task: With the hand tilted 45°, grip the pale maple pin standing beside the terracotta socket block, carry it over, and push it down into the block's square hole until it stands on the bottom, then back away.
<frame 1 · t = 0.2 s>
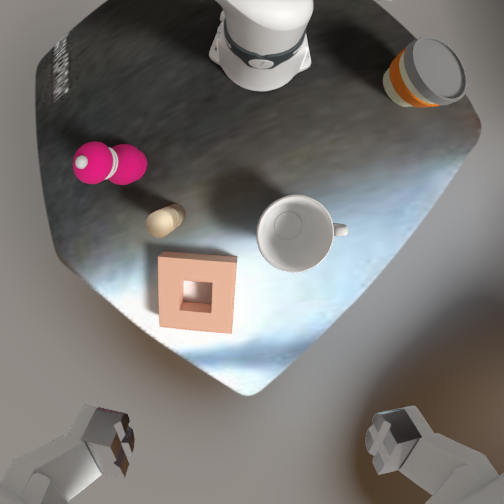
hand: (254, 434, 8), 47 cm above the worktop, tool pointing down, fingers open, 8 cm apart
teacup: (294, 223, 55), on the worktop
reusable coffee cup: (401, 86, 48), on the worktop
pepper mill: (132, 164, 51), on the worktop
maple pin: (174, 214, 54), on the worktop
socket block: (198, 288, 57), on the worktop
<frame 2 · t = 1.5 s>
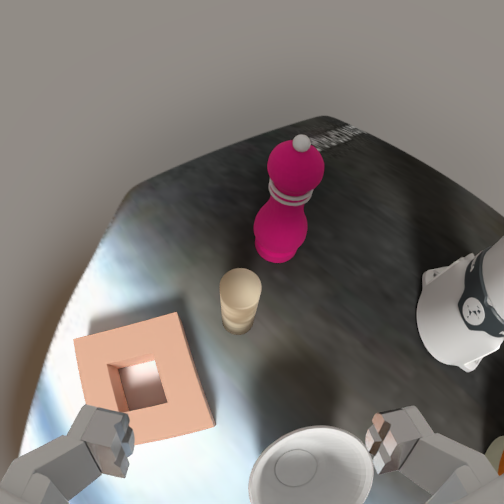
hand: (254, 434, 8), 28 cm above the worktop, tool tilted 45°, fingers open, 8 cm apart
teacup: (298, 474, 28), on the worktop
reusable coffee cup: (496, 459, 27), on the worktop
pepper mill: (275, 245, 44), on the worktop
maple pin: (237, 320, 38), on the worktop
socket block: (145, 386, 33), on the worktop
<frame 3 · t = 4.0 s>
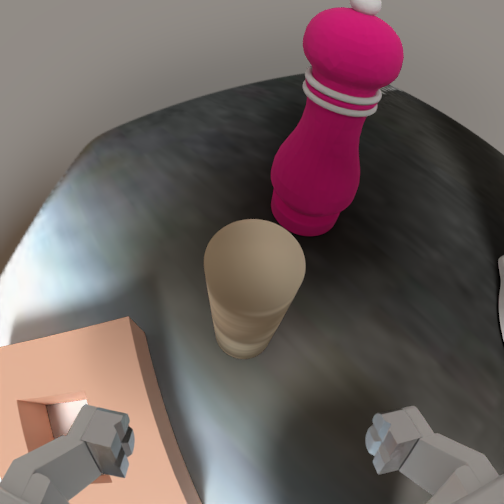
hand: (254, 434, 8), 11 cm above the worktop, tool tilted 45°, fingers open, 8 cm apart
pepper mill: (303, 210, 27), on the worktop
maple pin: (243, 332, 21), on the worktop
socket block: (84, 438, 16), on the worktop
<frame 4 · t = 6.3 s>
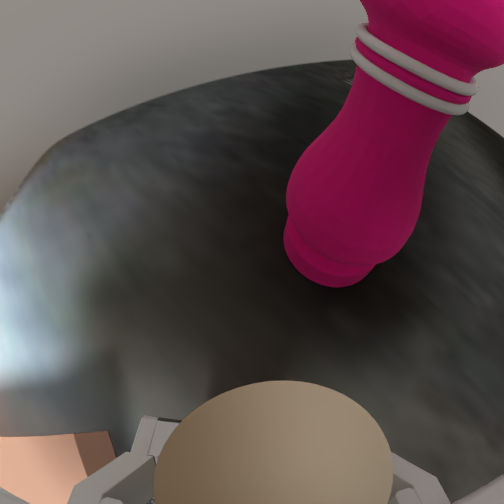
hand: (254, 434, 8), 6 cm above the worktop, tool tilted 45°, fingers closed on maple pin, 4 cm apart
pepper mill: (329, 245, 19), on the worktop
maple pin: (244, 436, 13), on the worktop, touching gripper
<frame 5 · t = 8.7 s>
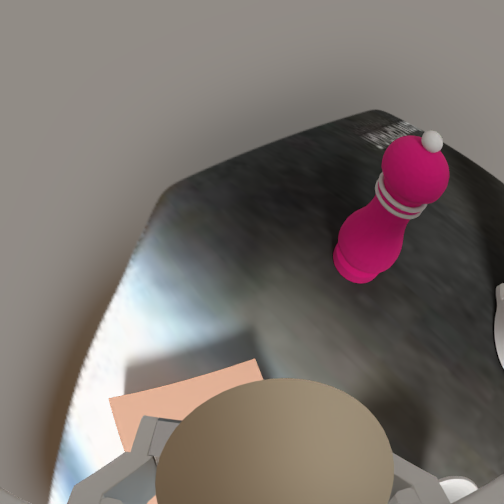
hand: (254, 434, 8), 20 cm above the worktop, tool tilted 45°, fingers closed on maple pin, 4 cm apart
pepper mill: (356, 261, 35), on the worktop
maple pin: (245, 435, 13), point 15 cm above the worktop, touching gripper
socket block: (209, 448, 24), on the worktop
when the fingers open (7 cm above the worktop, at t = 11.3 s): maple pin stays where it is, resting in socket block.
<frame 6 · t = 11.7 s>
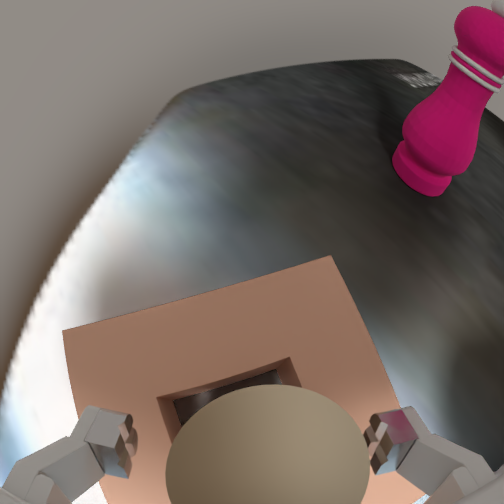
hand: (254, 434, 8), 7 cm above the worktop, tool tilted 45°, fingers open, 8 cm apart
pepper mill: (417, 174, 26), on the worktop
maple pin: (243, 434, 14), resting in socket block
socket block: (243, 435, 14), on the worktop
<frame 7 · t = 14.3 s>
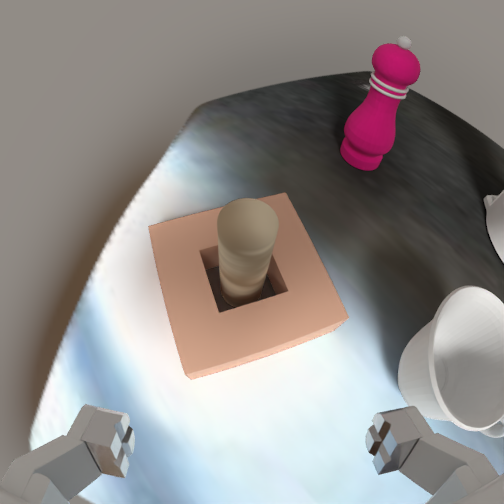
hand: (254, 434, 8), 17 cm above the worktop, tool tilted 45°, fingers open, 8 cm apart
teacup: (424, 388, 25), on the worktop
pepper mill: (359, 157, 41), on the worktop
maple pin: (241, 288, 29), resting in socket block
socket block: (240, 288, 29), on the worktop
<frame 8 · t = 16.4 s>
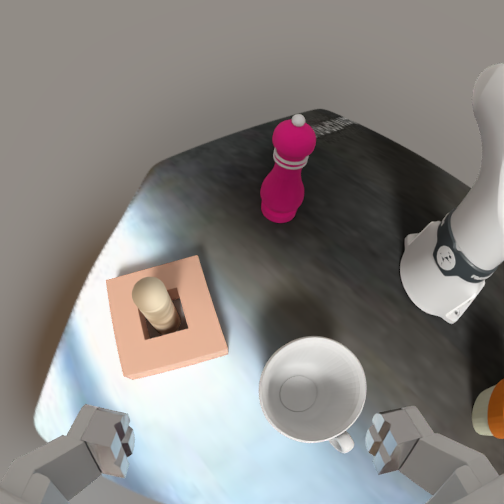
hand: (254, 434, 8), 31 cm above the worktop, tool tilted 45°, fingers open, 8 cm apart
teacup: (300, 402, 37), on the worktop
reusable coffee cup: (486, 412, 35), on the worktop
pepper mill: (278, 209, 53), on the worktop
maple pin: (167, 321, 41), resting in socket block
socket block: (166, 321, 41), on the worktop
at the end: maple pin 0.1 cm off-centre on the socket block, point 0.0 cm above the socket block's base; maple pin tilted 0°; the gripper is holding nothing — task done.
